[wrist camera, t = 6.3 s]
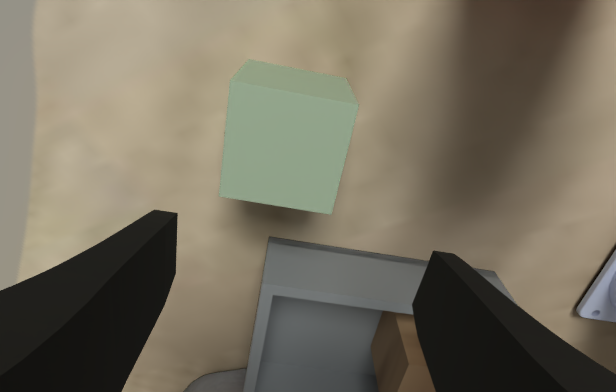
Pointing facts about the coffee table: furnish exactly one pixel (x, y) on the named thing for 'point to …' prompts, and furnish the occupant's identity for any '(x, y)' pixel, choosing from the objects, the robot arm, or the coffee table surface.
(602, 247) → the coffee table surface
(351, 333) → the tray
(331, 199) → the sage block
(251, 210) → the coffee table surface
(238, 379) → the pillar candle
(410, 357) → the walnut block
